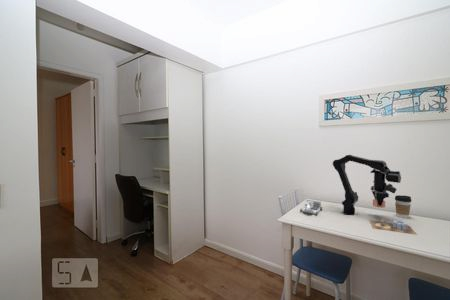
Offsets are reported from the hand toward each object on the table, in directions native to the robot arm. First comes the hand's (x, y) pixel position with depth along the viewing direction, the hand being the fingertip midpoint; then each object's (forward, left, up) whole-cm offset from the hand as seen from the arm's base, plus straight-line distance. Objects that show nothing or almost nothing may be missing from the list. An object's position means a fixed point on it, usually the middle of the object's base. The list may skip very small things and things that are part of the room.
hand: (378, 204), depth 134 cm
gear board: (+4, -12, -11) cm, 17 cm away
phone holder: (-41, +1, -12) cm, 42 cm away
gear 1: (0, 0, -1) cm, 1 cm away
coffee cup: (+15, +11, -11) cm, 22 cm away
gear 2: (+8, -12, -9) cm, 17 cm away
